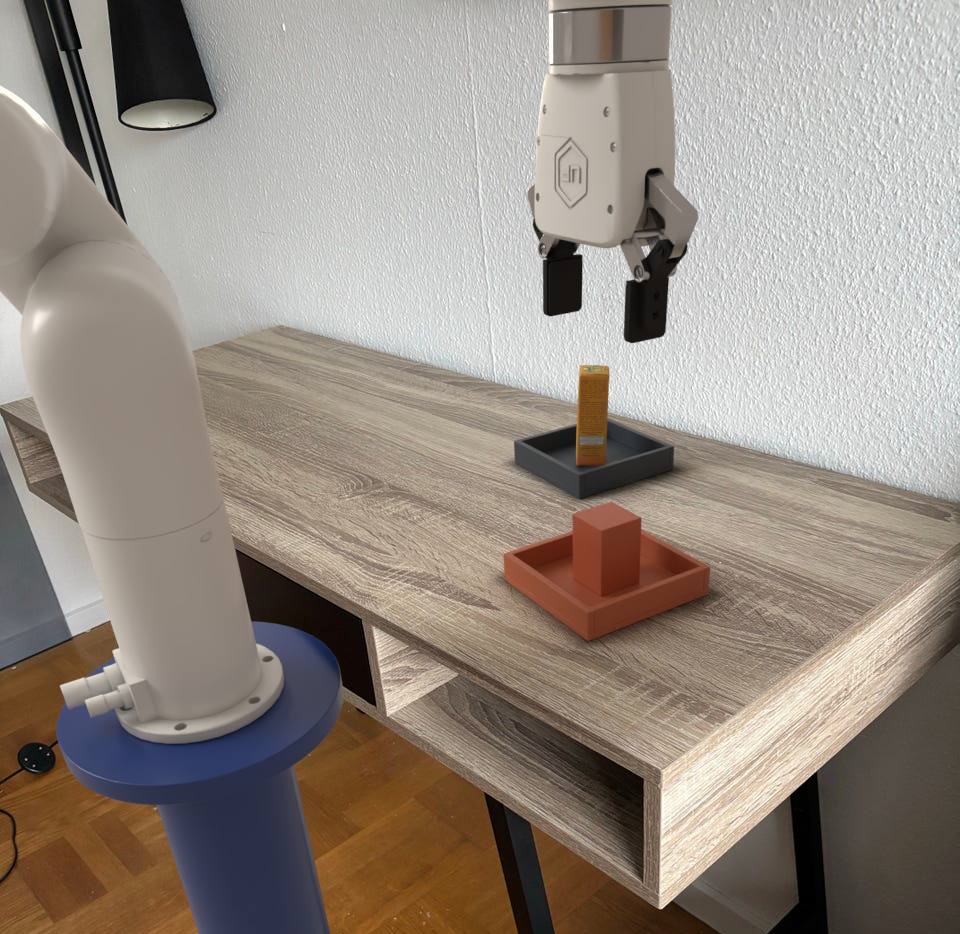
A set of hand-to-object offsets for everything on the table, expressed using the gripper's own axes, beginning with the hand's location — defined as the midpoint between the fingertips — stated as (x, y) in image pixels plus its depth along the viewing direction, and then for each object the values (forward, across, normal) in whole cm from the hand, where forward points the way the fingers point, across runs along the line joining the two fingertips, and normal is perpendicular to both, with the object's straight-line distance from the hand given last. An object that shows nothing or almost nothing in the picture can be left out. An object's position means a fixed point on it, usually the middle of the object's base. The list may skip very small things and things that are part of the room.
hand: (601, 325), depth 68 cm
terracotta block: (+21, 0, +1) cm, 21 cm away
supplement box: (+21, -22, +16) cm, 34 cm away
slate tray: (+22, -22, +16) cm, 34 cm away
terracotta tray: (+22, 0, +1) cm, 22 cm away
